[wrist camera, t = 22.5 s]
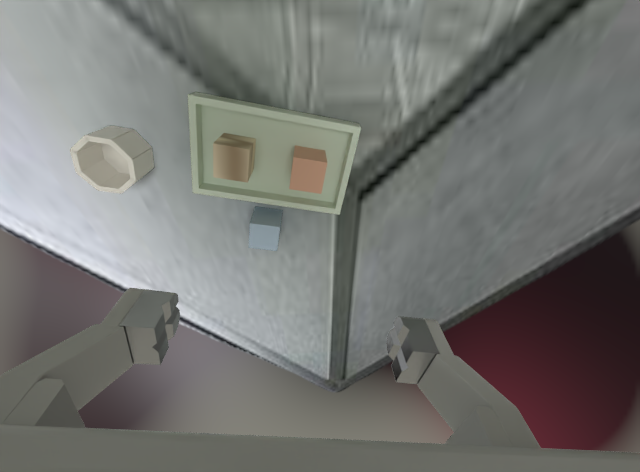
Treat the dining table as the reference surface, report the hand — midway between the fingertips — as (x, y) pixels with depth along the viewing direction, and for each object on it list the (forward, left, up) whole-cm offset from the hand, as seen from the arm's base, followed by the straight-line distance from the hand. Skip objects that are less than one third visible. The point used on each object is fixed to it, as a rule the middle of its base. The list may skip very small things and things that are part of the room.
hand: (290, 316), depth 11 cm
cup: (-22, -7, -31) cm, 39 cm away
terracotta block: (+1, -4, -30) cm, 31 cm away
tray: (-3, -4, -31) cm, 32 cm away
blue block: (-3, -14, -31) cm, 34 cm away
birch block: (-8, -4, -30) cm, 32 cm away
